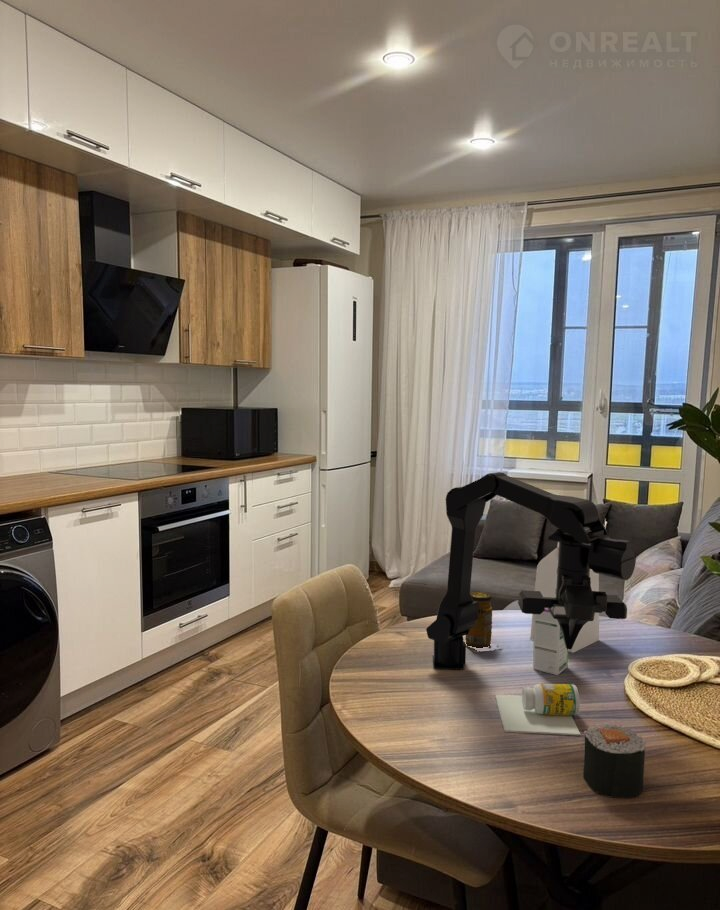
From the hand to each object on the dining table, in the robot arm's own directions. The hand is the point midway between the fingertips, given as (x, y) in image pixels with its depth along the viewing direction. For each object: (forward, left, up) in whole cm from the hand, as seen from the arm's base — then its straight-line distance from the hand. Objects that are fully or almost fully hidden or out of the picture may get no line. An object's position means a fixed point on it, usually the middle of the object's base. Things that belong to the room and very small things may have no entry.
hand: (568, 648), depth 125 cm
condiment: (-13, +31, -12) cm, 36 cm away
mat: (-6, -3, -12) cm, 14 cm away
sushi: (+2, -24, -12) cm, 27 cm away
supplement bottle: (+1, -3, -9) cm, 9 cm away
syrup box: (+1, +19, -12) cm, 22 cm away
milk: (+8, +37, -12) cm, 39 cm away
